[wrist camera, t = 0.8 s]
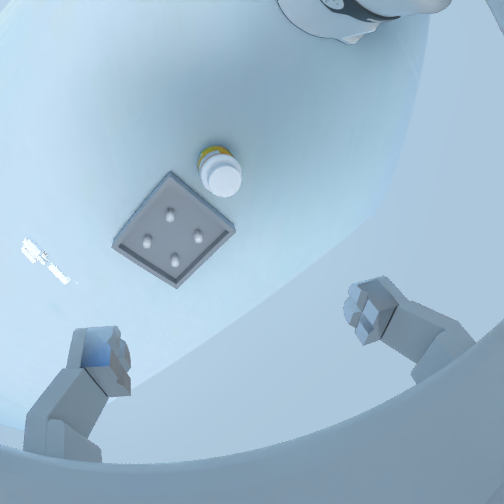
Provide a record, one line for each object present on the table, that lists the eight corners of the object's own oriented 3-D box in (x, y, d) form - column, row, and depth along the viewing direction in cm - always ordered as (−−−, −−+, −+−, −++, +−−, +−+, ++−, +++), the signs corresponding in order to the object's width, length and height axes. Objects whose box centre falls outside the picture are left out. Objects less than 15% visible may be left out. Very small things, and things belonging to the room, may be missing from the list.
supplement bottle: (238, 167, 40) (255, 189, 33) (207, 184, 41) (216, 210, 33) (222, 138, 37) (235, 152, 30) (190, 156, 38) (194, 175, 30)
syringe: (103, 297, 47) (102, 303, 46) (91, 308, 48) (90, 313, 46) (29, 231, 35) (25, 236, 34) (19, 246, 36) (16, 251, 35)
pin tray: (170, 171, 38) (169, 178, 35) (233, 224, 46) (237, 234, 43) (113, 239, 41) (110, 250, 38) (176, 280, 49) (177, 292, 46)
